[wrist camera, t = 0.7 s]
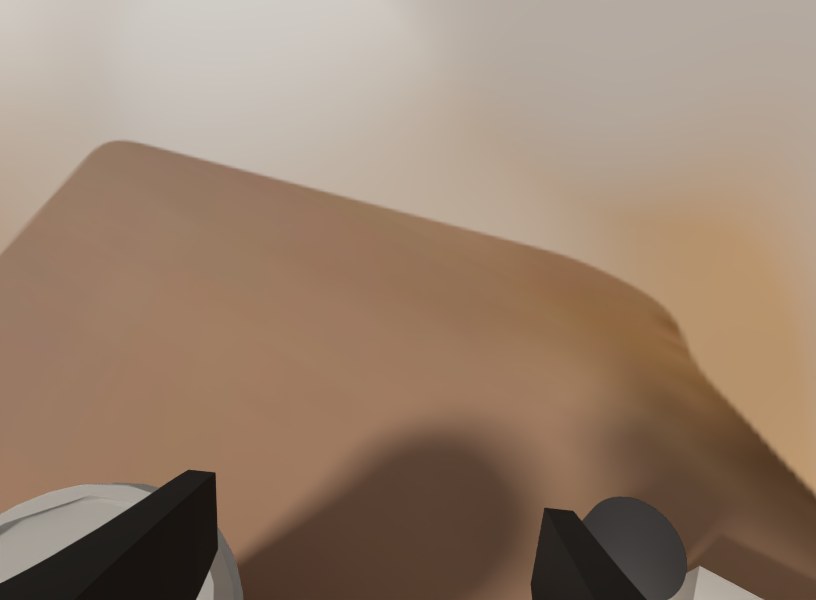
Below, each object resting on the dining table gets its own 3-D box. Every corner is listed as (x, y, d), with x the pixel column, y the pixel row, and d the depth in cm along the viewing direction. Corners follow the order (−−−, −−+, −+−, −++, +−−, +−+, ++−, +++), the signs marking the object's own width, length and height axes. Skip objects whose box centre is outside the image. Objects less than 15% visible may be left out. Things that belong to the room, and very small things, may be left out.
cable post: (647, 620, 24) (707, 592, 20) (567, 638, 24) (609, 614, 19) (610, 532, 27) (656, 489, 22) (537, 546, 26) (568, 505, 22)
